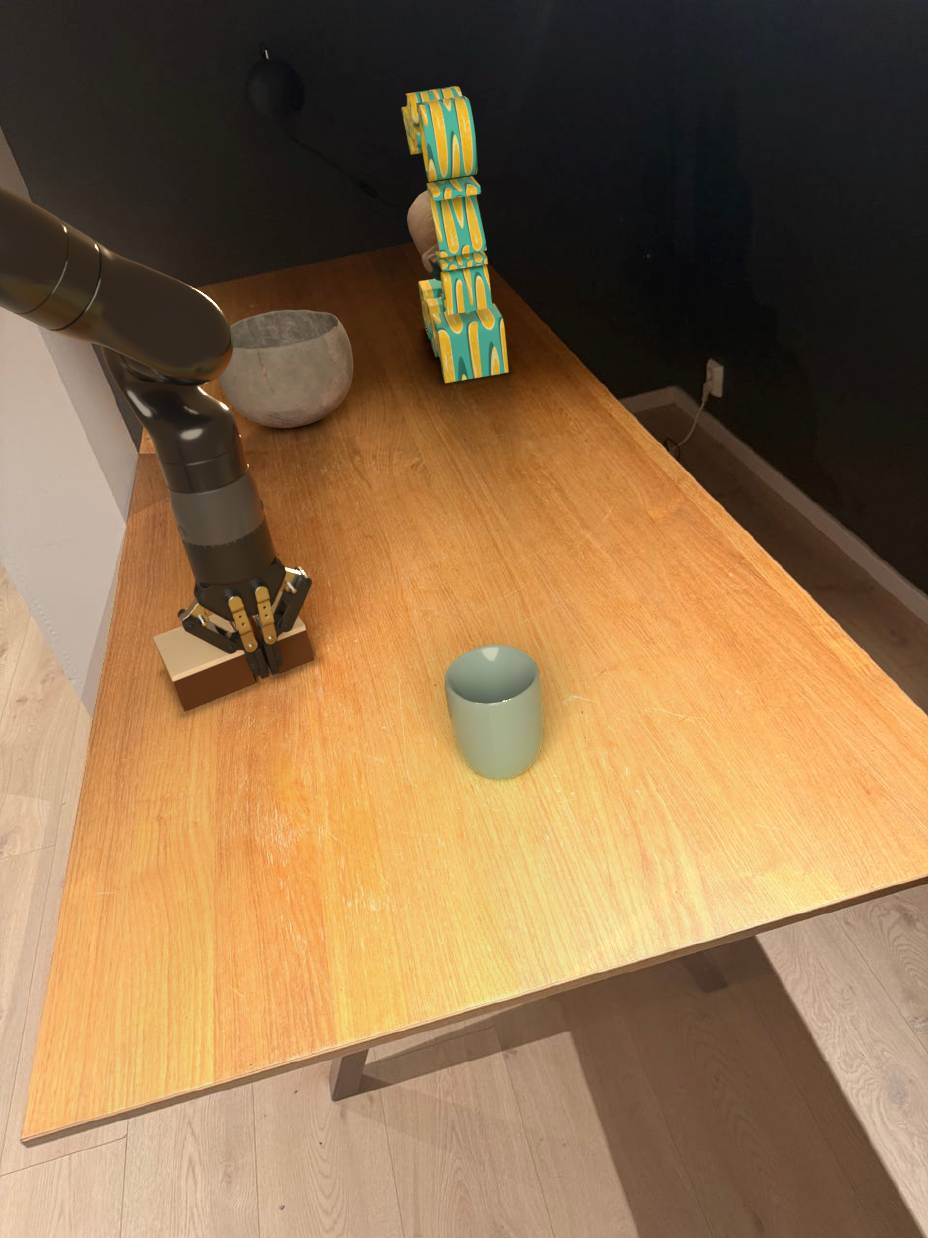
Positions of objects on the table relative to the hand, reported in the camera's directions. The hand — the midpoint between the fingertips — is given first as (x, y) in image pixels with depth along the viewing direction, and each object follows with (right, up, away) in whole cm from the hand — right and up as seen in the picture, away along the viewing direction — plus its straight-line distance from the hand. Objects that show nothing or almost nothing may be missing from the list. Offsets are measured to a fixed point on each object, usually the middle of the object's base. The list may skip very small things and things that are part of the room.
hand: (267, 671), depth 93 cm
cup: (+23, -7, -10) cm, 26 cm away
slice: (0, +2, +8) cm, 8 cm away
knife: (-3, +3, +5) cm, 6 cm away
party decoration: (+19, +53, +74) cm, 92 cm away
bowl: (-7, +37, +56) cm, 68 cm away
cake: (-7, -1, +5) cm, 9 cm away
